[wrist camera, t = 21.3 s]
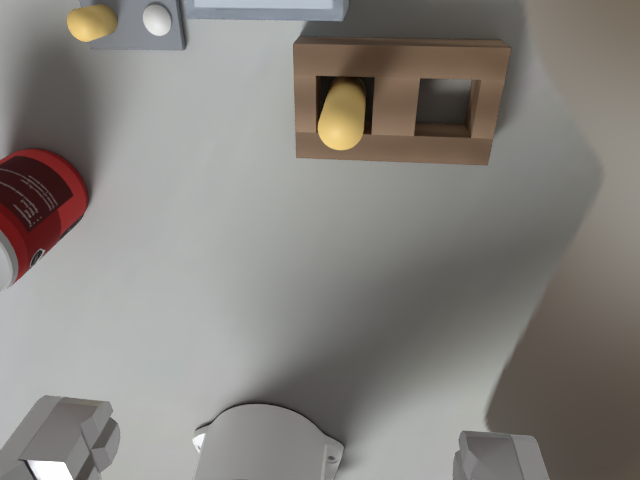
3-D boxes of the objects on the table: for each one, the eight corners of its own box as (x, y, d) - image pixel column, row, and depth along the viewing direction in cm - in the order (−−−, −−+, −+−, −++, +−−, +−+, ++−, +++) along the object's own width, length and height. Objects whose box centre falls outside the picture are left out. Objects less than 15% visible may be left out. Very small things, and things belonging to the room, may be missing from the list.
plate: (185, 49, 35) (167, 59, 32) (95, 47, 36) (68, 56, 32) (176, -13, 33) (156, -8, 30) (80, -13, 33) (51, -9, 30)
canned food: (21, 221, 45) (-71, 293, 36) (-6, 141, 41) (-118, 199, 31) (99, 229, 44) (26, 304, 35) (80, 149, 40) (-8, 210, 31)
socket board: (479, 150, 37) (487, 165, 34) (301, 143, 38) (296, 157, 35) (500, 39, 32) (511, 47, 30) (299, 36, 34) (293, 43, 31)
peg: (365, 112, 36) (362, 151, 29) (328, 111, 36) (317, 149, 30) (367, 74, 35) (364, 106, 28) (328, 73, 35) (317, 104, 28)
